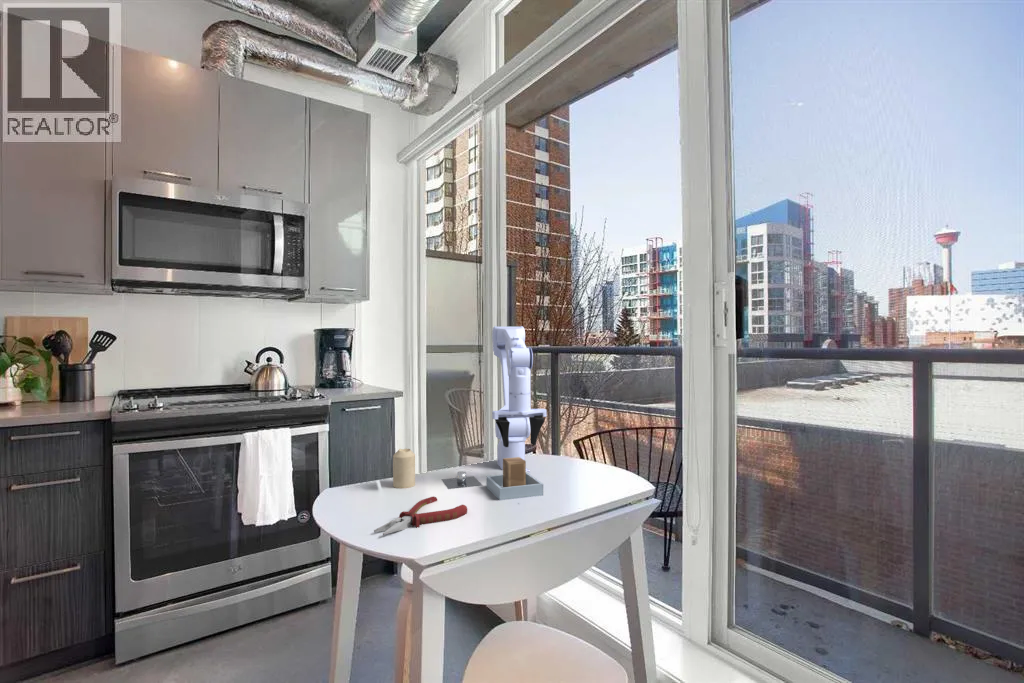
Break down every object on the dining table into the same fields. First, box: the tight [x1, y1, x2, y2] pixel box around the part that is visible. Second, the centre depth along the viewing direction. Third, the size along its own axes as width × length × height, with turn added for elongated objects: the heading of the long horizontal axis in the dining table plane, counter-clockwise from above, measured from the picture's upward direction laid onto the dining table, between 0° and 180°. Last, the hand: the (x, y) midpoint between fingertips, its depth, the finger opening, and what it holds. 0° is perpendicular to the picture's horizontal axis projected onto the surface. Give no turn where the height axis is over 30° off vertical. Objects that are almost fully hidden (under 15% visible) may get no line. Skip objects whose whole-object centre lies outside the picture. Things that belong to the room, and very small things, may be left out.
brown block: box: [502, 457, 527, 488], centre depth 122 cm, size 4×4×8 cm
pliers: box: [373, 496, 468, 536], centre depth 104 cm, size 12×20×3 cm, turn 143°
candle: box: [392, 448, 416, 489], centre depth 127 cm, size 6×6×10 cm
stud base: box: [441, 471, 484, 490], centre depth 130 cm, size 9×9×3 cm
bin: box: [485, 471, 544, 501], centre depth 122 cm, size 11×11×4 cm
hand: (519, 445), depth 130 cm, fingers open, 7 cm apart
